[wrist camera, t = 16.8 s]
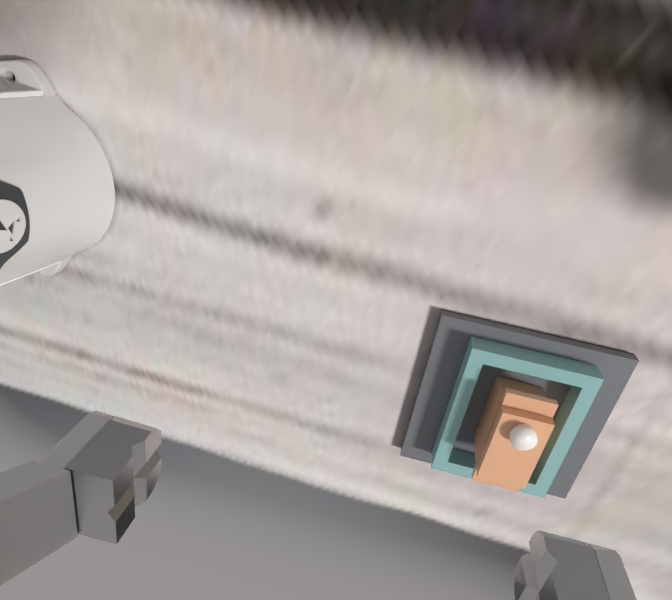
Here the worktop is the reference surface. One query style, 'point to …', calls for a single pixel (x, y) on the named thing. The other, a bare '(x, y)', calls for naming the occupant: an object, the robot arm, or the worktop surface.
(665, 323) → the worktop surface
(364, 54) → the worktop surface
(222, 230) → the worktop surface
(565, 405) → the plate
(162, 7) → the worktop surface
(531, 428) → the block
